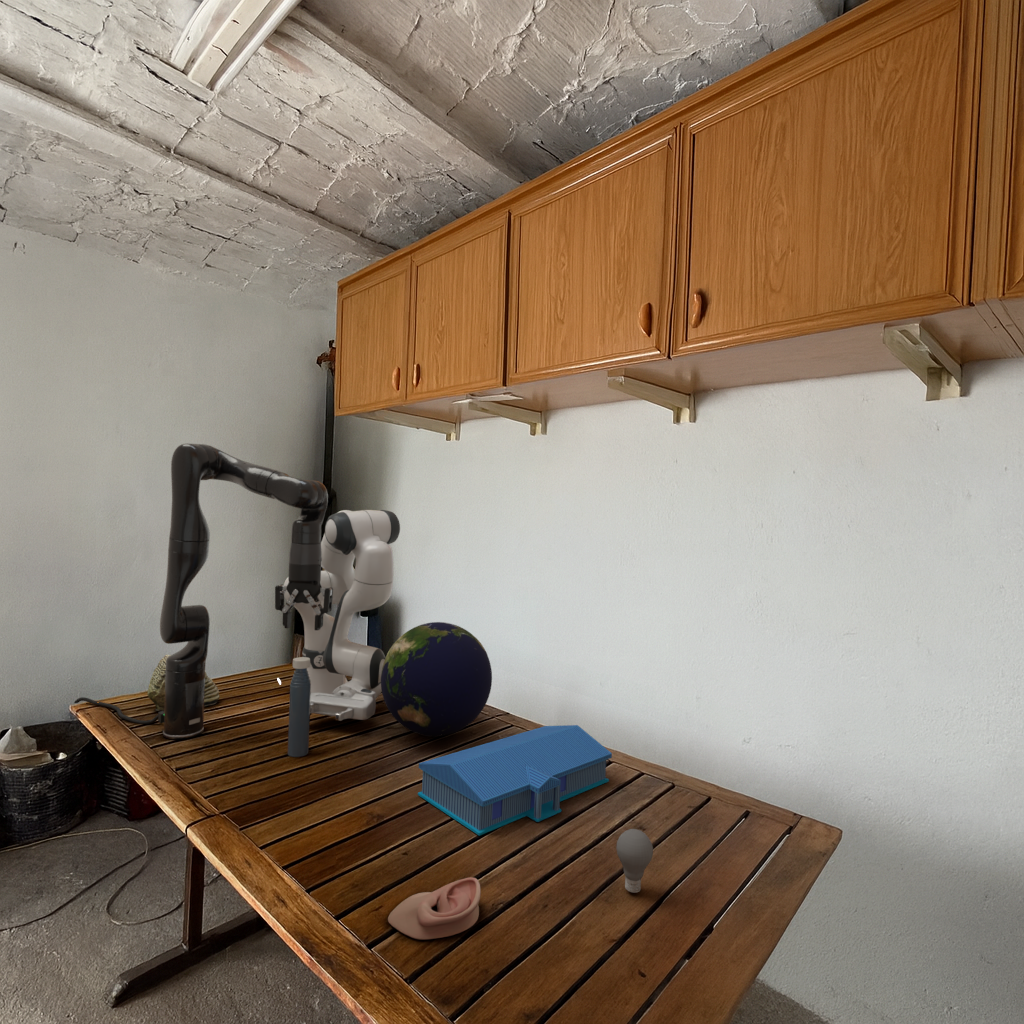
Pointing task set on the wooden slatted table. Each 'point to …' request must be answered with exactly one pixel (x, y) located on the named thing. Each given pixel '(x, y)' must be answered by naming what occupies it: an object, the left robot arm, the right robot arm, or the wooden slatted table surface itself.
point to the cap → (301, 662)
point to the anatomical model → (439, 911)
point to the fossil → (158, 687)
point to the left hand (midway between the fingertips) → (302, 628)
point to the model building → (514, 777)
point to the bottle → (299, 713)
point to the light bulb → (634, 857)
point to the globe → (436, 679)
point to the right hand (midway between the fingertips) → (321, 715)
